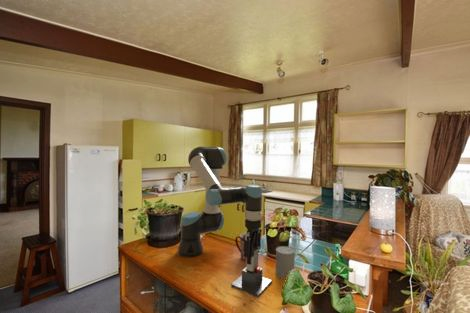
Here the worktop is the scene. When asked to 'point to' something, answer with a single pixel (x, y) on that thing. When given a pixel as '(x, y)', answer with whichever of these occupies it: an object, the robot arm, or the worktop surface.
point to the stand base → (252, 282)
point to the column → (254, 258)
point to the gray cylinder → (284, 260)
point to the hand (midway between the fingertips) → (252, 268)
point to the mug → (241, 246)
